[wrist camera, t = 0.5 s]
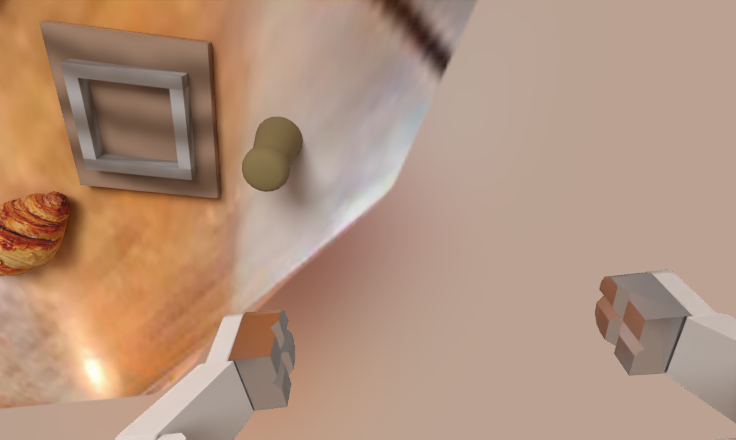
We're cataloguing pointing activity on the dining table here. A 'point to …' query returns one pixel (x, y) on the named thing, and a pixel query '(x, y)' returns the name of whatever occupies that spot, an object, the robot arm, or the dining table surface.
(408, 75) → the dining table surface
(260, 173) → the olive pepper mill
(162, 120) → the square frame holder
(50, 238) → the croissant
